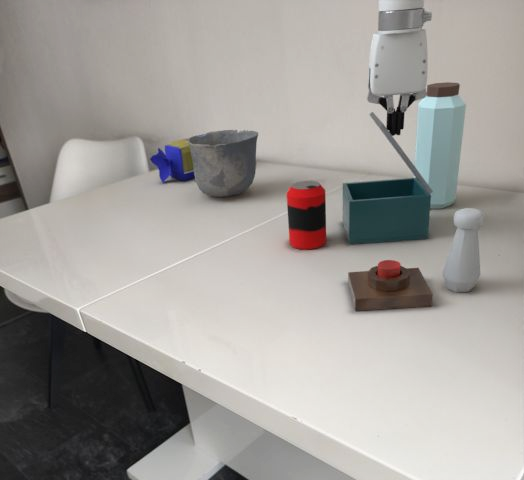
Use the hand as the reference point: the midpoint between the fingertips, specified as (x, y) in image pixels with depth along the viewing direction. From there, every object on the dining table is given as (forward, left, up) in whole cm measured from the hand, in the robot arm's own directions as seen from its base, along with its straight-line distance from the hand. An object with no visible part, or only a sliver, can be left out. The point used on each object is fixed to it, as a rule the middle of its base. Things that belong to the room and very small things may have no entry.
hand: (394, 133), depth 103 cm
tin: (+1, 0, -19) cm, 19 cm away
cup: (+36, -34, -19) cm, 54 cm away
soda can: (+17, +4, -19) cm, 27 cm away
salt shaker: (-7, +28, -19) cm, 35 cm away
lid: (-1, 0, -4) cm, 4 cm away
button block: (+5, +29, -19) cm, 35 cm away
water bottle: (-13, -15, -19) cm, 27 cm away
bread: (+48, -59, -19) cm, 79 cm away
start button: (+5, +29, -16) cm, 33 cm away
